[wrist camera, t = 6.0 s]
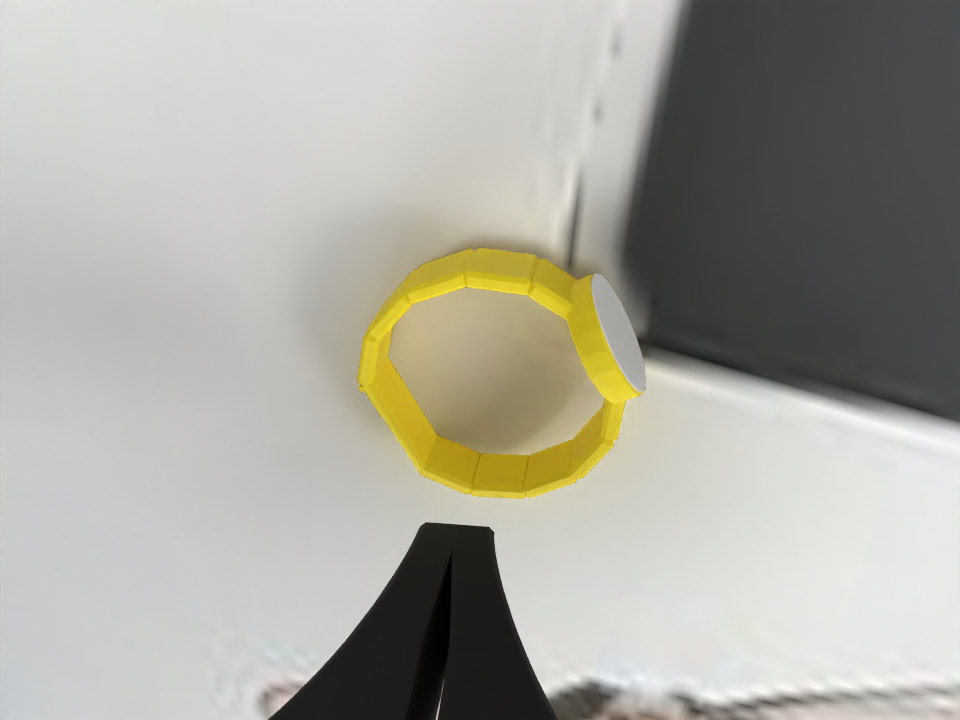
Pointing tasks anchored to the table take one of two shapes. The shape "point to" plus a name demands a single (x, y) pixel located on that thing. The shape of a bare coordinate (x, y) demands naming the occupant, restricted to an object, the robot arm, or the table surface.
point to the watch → (596, 338)
